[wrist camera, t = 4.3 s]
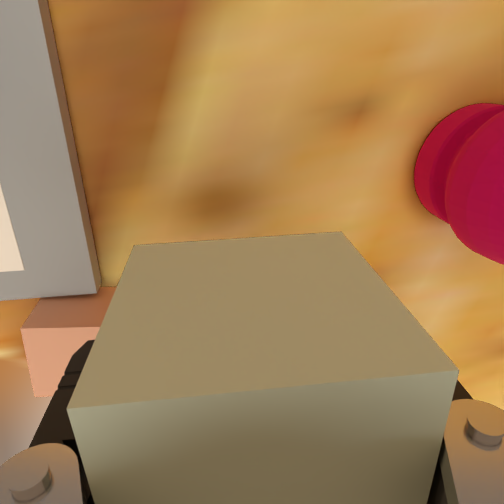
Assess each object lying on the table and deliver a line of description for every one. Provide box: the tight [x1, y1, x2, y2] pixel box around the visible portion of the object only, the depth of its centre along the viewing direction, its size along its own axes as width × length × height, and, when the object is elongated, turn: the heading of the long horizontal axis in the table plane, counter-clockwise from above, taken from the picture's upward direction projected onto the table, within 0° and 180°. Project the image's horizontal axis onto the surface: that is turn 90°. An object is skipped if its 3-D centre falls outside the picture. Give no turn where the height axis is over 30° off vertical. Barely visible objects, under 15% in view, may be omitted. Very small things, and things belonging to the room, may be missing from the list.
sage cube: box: [67, 232, 459, 504], centre depth 8 cm, size 5×5×5 cm
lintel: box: [21, 287, 117, 397], centre depth 21 cm, size 12×4×4 cm, turn 86°
